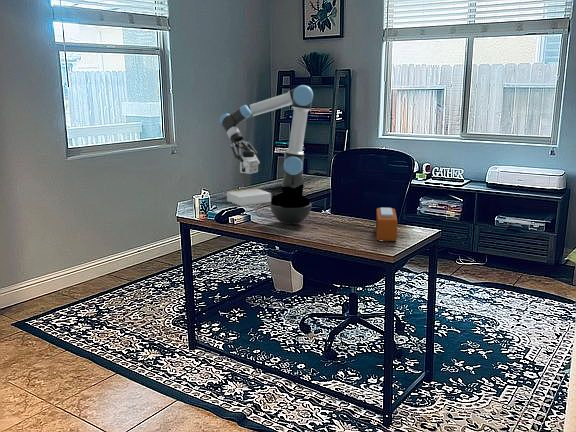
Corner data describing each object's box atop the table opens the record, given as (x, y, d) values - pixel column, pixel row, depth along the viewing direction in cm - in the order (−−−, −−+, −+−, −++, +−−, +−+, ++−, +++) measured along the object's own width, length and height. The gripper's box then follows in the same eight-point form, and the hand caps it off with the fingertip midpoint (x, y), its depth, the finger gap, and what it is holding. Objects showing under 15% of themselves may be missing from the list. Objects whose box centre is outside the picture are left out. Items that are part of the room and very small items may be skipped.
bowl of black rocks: (274, 230, 262) (273, 190, 258) (267, 219, 281) (266, 182, 277) (315, 227, 266) (316, 188, 262) (306, 217, 285) (306, 181, 281)
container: (249, 174, 332) (249, 151, 329) (239, 172, 336) (239, 150, 333) (258, 172, 338) (257, 150, 335) (248, 171, 342) (248, 149, 339)
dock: (257, 196, 334) (257, 188, 333) (271, 201, 321) (271, 192, 320) (227, 200, 324) (226, 191, 323) (240, 206, 311) (239, 196, 309)
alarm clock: (375, 228, 267) (376, 204, 264) (393, 228, 266) (394, 205, 263) (376, 242, 244) (378, 217, 241) (396, 243, 243) (397, 217, 240)
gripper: (246, 138, 351) (263, 167, 343) (218, 141, 337) (235, 171, 329) (251, 130, 346) (269, 159, 338) (223, 133, 332) (240, 163, 324)
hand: (252, 165), depth 334 cm, fingers closed on container, 9 cm apart
